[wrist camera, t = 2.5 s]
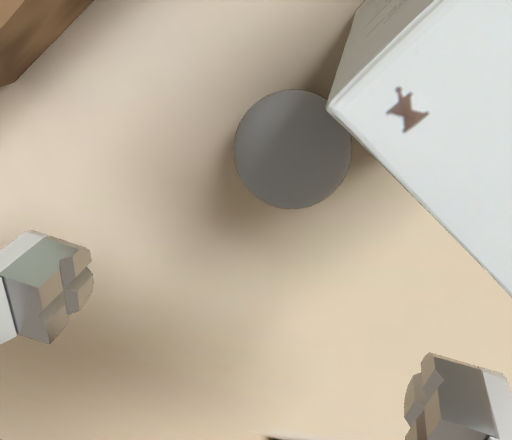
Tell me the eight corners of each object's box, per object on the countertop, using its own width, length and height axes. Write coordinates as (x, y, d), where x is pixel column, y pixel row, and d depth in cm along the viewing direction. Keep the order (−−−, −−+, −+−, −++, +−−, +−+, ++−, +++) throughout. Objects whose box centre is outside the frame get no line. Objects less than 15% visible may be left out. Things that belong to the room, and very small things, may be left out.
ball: (285, 193, 22) (263, 247, 18) (230, 112, 20) (193, 151, 16) (373, 149, 19) (373, 201, 15) (319, 54, 18) (302, 82, 14)
